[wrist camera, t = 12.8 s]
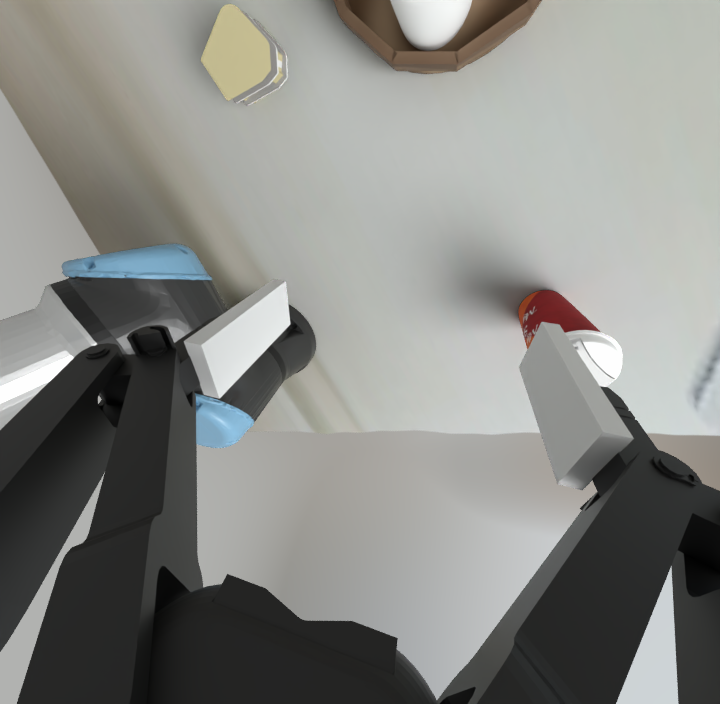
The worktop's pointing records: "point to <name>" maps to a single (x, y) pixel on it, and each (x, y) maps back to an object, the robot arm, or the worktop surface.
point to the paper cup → (572, 333)
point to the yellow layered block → (243, 57)
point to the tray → (474, 39)
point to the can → (430, 21)
